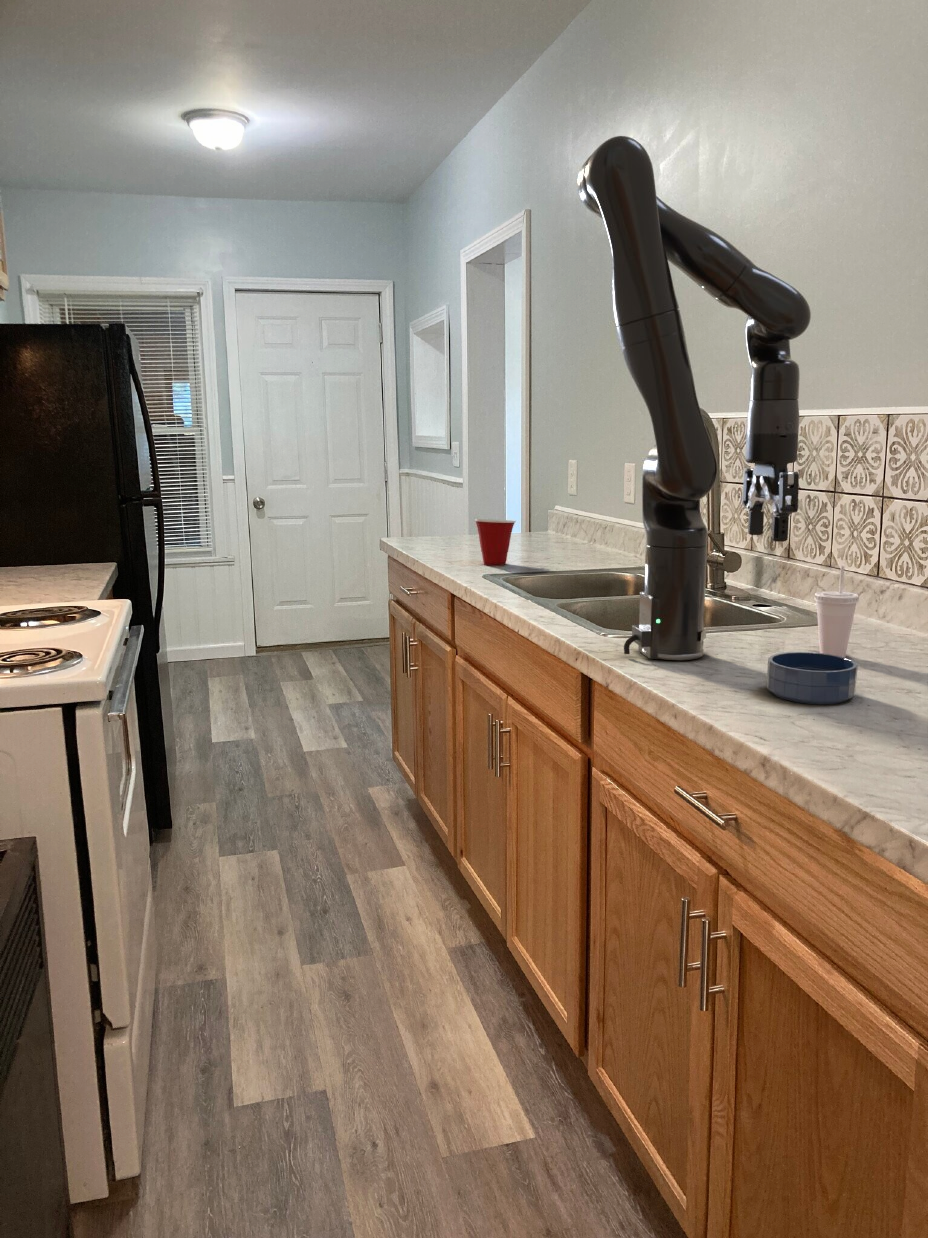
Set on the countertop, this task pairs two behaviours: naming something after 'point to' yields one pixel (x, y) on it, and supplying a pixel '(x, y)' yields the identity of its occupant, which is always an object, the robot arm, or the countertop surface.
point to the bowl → (811, 677)
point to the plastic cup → (494, 540)
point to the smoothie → (835, 618)
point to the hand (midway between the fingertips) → (767, 537)
